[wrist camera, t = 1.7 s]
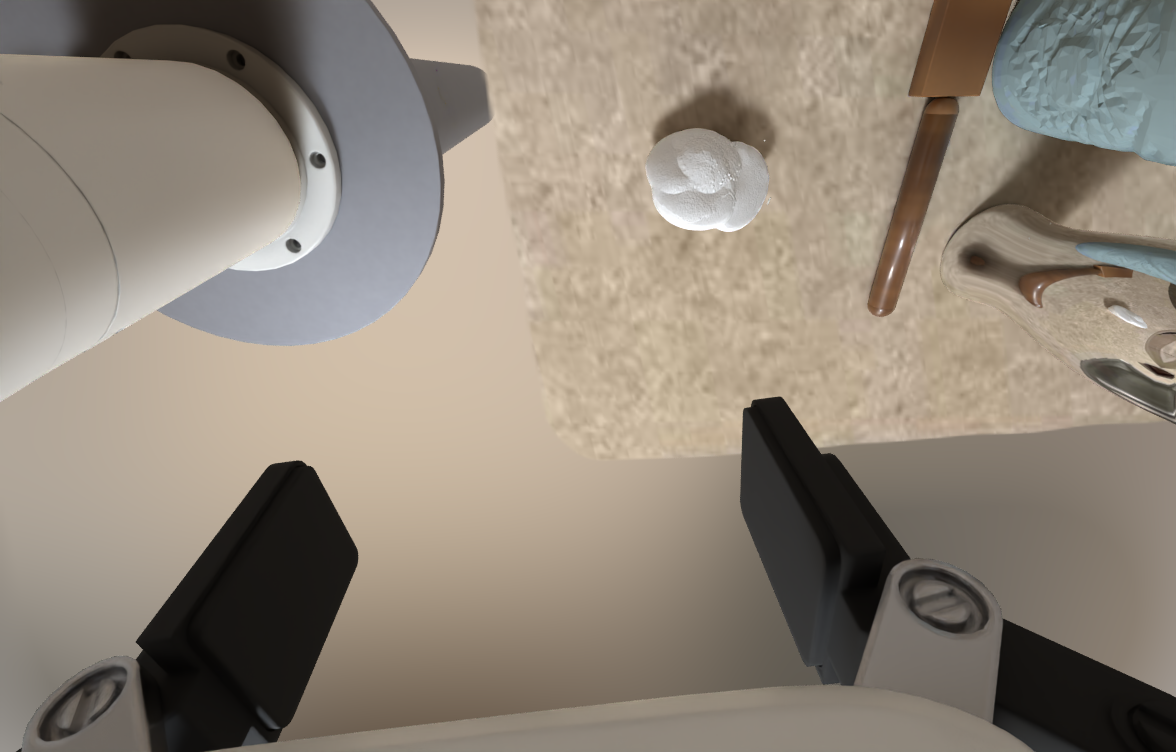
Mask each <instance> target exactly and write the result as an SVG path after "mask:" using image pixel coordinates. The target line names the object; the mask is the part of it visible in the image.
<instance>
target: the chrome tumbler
mask: <svg viewBox="0 0 1176 752" xmlns="http://www.w3.org/2000/svg"><path fill="white" fill-rule="evenodd" d="M940 274H941V279H942V282H943V284H944V285H945V287H946V288H947V289H948V290H949V291H950V292H951V293H952V294H954V295H956V296H958V297H960V298H963V299H966V300H970V301H973V302H977V303H981V304H984V305H987V306H990V307H992V308H994V309H996V310H998V311H1000V312H1001V313H1003V314H1005V315H1006V316H1007V317H1009V318H1010V319H1011V320H1012V321H1013V322H1015V323H1016V324H1017V325H1018V326H1019V327H1020V328H1022V329H1023V330H1024V331H1025V332H1026V333H1027V334H1028V335H1029V336H1030V337H1032V338H1033V339H1034V340H1035V341H1036V342H1037V343H1038V344H1040V345H1041V346H1042V347H1043V348H1044V349H1045V350H1046V351H1048V352H1049V353H1050V354H1051V355H1053V356H1054V357H1055V358H1057V359H1058V360H1059V361H1060V362H1062V363H1063V364H1064V365H1066V366H1067V367H1068V368H1070V369H1071V370H1073V371H1074V372H1076V373H1077V374H1079V375H1081V376H1082V377H1084V378H1085V379H1087V380H1089V381H1090V382H1092V383H1093V384H1095V385H1097V386H1099V387H1101V388H1103V389H1104V390H1106V391H1108V392H1110V393H1112V394H1114V395H1116V396H1117V397H1119V398H1121V399H1123V400H1125V401H1127V402H1129V403H1131V404H1133V405H1136V406H1138V407H1140V408H1142V409H1144V410H1146V411H1148V412H1150V413H1152V414H1154V415H1157V416H1159V417H1161V418H1163V419H1165V420H1167V421H1170V422H1172V423H1174V424H1176V240H1173V239H1166V238H1159V237H1151V236H1141V235H1131V234H1121V233H1109V232H1098V231H1089V230H1081V229H1075V228H1070V227H1066V226H1063V225H1060V224H1057V223H1055V222H1053V221H1051V220H1049V219H1048V218H1046V217H1044V216H1043V215H1041V214H1040V213H1038V212H1036V211H1034V210H1032V209H1030V208H1028V207H1026V206H1023V205H1018V204H1003V205H998V206H994V207H991V208H989V209H986V210H984V211H982V212H980V213H978V214H977V215H975V216H974V217H972V218H971V219H969V220H968V221H967V222H966V223H965V224H964V225H963V226H962V227H961V228H960V229H959V230H958V231H957V232H956V233H955V234H954V236H953V237H952V238H951V240H950V241H949V243H948V245H947V246H946V248H945V251H944V253H943V256H942V260H941V265H940Z"/></svg>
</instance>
